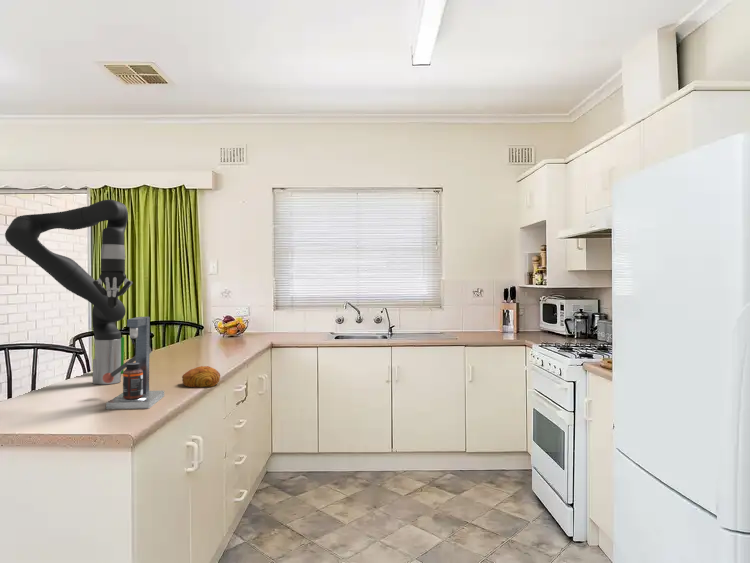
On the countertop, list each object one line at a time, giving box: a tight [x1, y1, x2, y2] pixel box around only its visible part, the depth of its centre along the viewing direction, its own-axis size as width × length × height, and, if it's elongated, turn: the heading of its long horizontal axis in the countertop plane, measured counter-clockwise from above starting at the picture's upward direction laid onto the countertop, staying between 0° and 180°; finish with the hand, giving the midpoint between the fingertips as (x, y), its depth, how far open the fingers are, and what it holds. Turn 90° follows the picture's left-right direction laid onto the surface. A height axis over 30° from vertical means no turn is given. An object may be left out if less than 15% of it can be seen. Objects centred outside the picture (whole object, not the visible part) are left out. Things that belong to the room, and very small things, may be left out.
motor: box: [121, 336, 125, 375], centre depth 234 cm, size 10×9×20 cm
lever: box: [102, 346, 152, 383], centre depth 188 cm, size 19×4×4 cm
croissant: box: [181, 365, 221, 388], centre depth 212 cm, size 14×16×8 cm
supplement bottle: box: [122, 362, 143, 399], centre depth 176 cm, size 6×6×11 cm
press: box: [105, 316, 165, 410], centre depth 179 cm, size 13×18×28 cm
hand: (112, 307), depth 187 cm, fingers closed
